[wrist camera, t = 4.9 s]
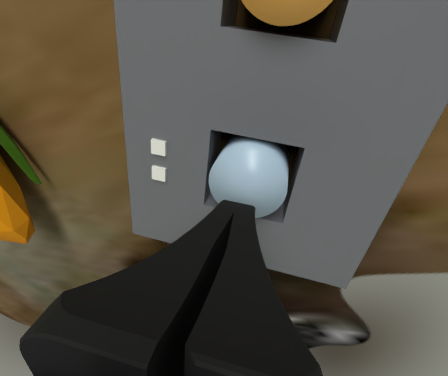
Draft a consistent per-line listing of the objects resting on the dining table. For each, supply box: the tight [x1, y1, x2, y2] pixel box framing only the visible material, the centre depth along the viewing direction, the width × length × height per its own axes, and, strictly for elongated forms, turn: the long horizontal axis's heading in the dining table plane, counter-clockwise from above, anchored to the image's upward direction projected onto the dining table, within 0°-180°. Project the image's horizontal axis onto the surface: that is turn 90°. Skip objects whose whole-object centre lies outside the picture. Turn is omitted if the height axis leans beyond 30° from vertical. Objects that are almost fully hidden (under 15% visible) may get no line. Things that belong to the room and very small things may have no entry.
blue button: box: [209, 134, 289, 218], centre depth 15 cm, size 4×4×3 cm
